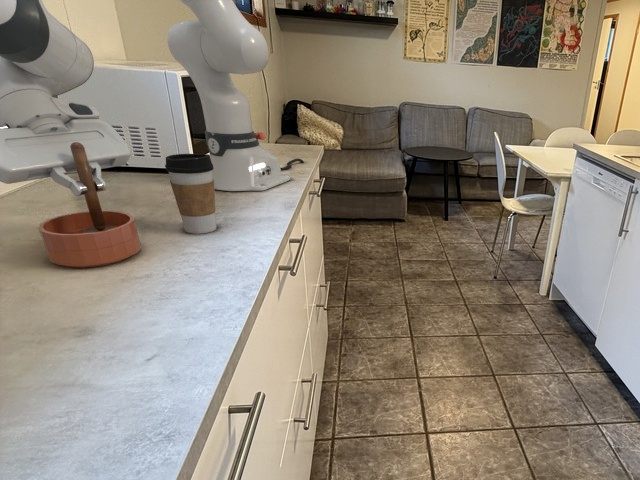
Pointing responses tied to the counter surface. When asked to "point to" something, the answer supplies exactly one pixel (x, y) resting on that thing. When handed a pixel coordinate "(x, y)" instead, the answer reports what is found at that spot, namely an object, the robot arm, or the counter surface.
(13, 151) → the robot arm
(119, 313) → the counter surface
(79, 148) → the brown pestle
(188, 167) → the coffee cup
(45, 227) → the bowl
